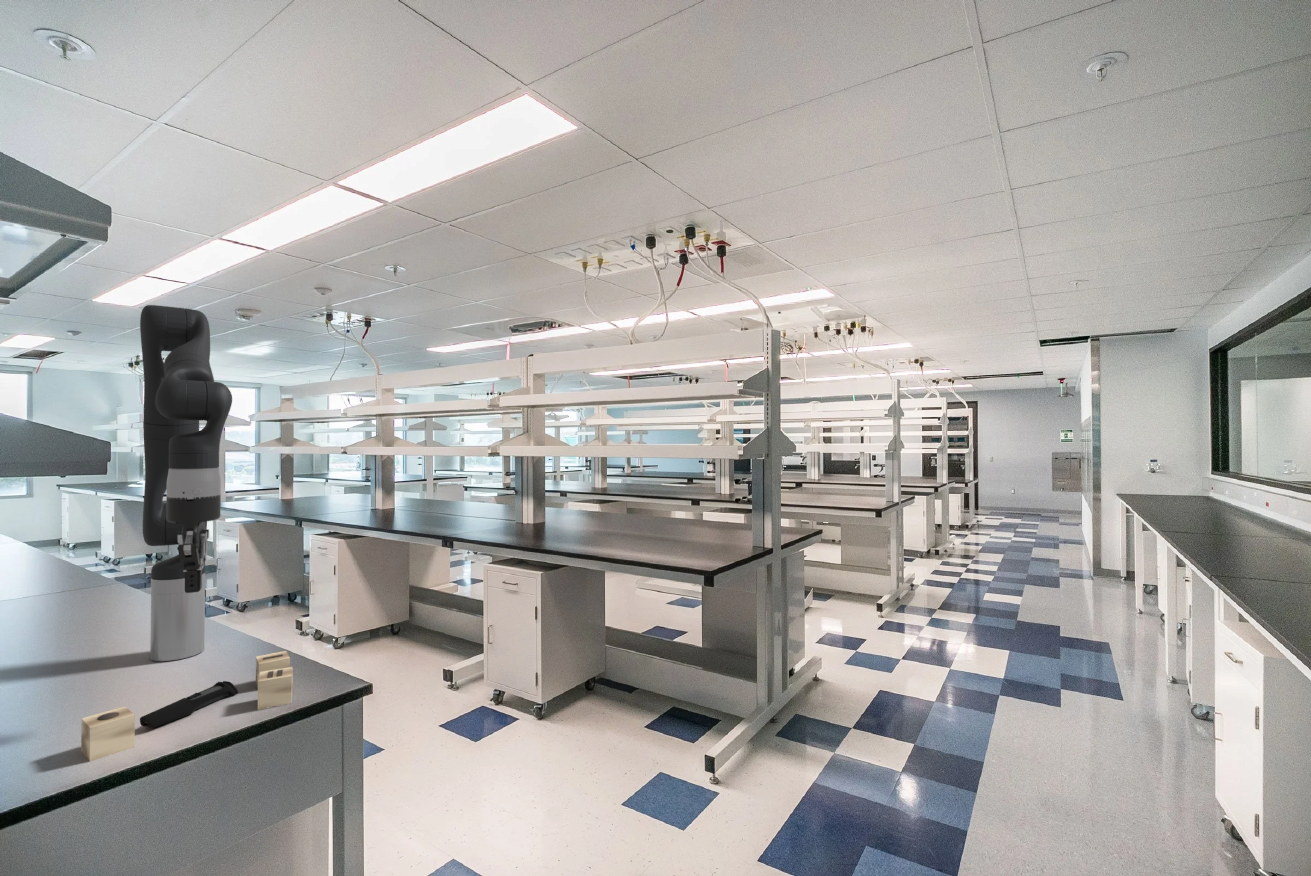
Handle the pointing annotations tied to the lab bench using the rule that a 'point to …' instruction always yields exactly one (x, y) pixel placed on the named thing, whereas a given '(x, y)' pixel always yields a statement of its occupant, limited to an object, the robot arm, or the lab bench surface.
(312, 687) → the lab bench surface
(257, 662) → the maple block
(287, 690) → the maple block
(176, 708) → the electric trimmer
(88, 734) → the maple block
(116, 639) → the lab bench surface
